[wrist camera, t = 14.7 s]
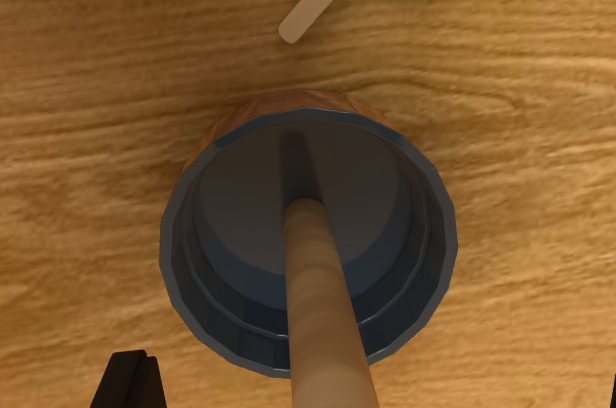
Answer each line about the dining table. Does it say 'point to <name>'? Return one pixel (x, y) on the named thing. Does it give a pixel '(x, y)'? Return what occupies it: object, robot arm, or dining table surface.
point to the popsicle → (301, 19)
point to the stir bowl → (269, 231)
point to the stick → (321, 316)
